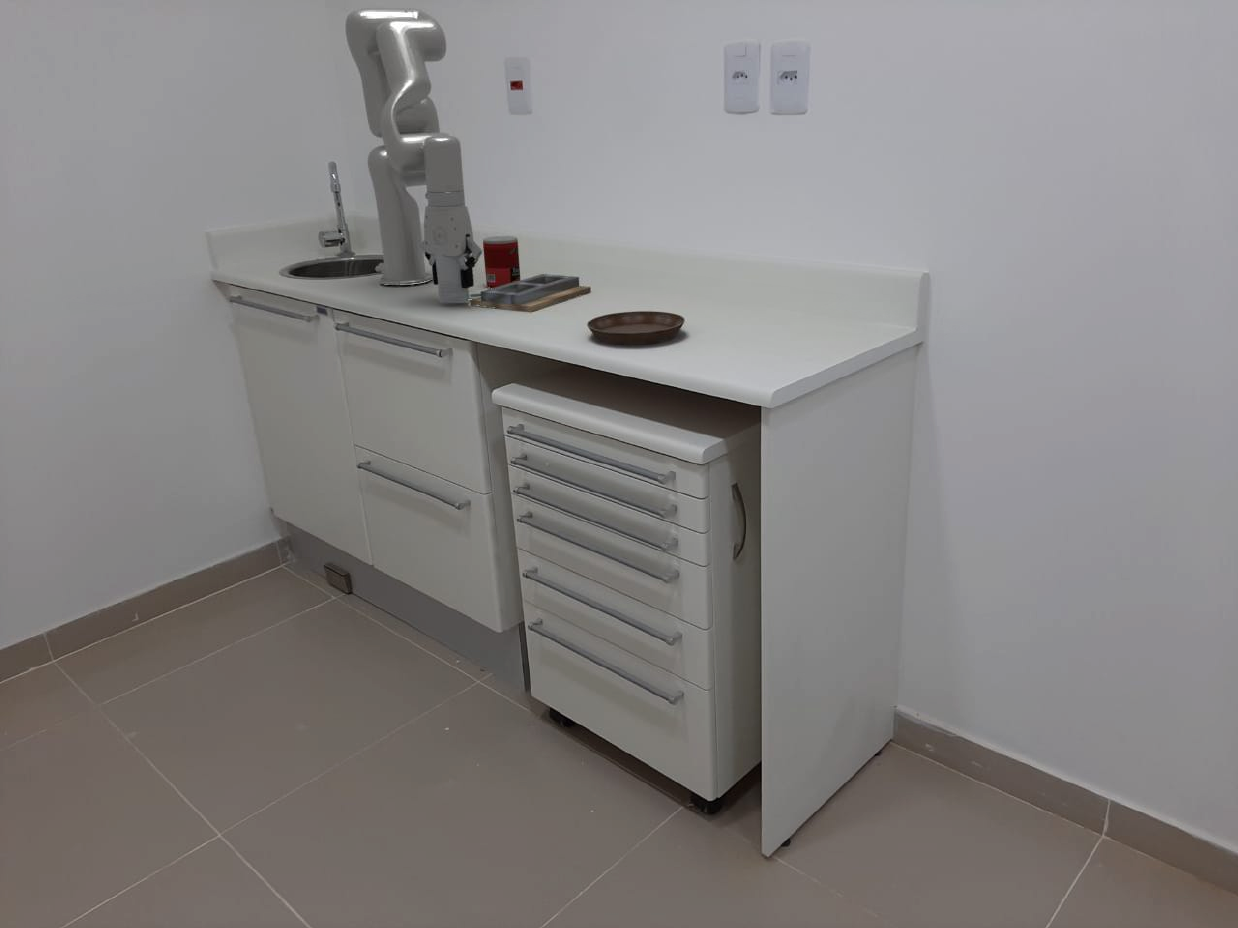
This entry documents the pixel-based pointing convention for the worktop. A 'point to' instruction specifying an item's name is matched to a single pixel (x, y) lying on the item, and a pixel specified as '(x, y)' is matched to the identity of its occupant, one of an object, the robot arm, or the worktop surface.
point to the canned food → (501, 260)
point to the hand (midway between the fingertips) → (453, 284)
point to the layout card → (476, 294)
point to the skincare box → (449, 278)
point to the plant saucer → (636, 327)
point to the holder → (532, 293)
